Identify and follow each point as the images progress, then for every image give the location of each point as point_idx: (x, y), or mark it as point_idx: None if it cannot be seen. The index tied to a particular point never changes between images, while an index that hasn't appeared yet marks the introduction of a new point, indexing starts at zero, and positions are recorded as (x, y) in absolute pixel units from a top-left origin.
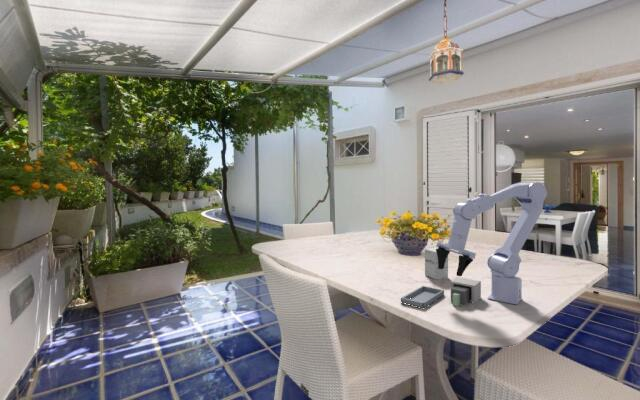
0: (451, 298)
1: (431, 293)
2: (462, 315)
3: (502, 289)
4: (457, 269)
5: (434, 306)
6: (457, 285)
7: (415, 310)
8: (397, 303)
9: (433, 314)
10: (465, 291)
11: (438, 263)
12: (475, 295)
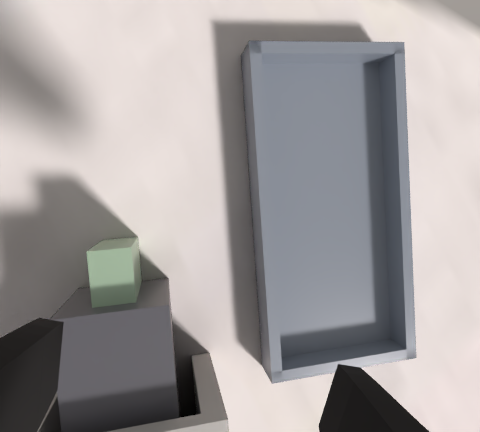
0: (166, 284)
1: (327, 321)
2: (8, 117)
3: None
4: (11, 362)
5: (215, 144)
6: None
7: (266, 6)
8: None
9: (155, 14)
10: None
11: (399, 406)
12: None
